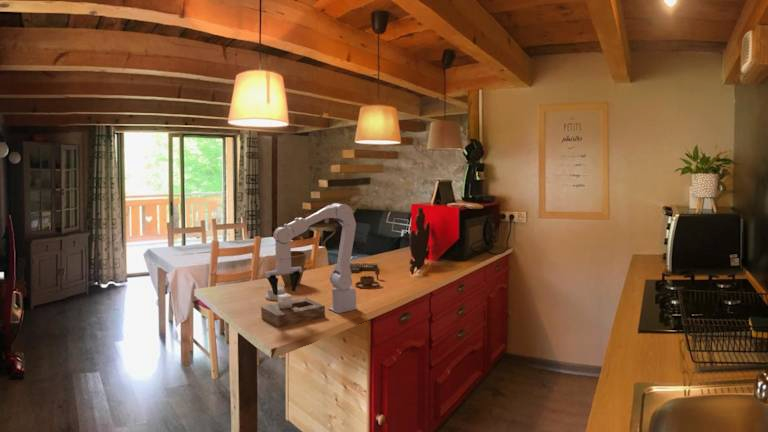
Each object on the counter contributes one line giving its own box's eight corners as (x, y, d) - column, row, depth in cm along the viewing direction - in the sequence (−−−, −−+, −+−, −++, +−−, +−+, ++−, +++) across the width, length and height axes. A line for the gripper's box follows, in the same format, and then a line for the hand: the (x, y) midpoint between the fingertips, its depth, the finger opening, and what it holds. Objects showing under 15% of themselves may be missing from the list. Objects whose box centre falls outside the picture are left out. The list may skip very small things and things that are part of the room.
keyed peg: (288, 313, 190) (287, 293, 190) (294, 316, 186) (293, 295, 186) (276, 316, 187) (275, 295, 186) (282, 319, 183) (281, 298, 183)
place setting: (346, 285, 241) (346, 274, 240) (377, 279, 254) (376, 268, 253) (368, 292, 228) (368, 280, 227) (399, 285, 241) (399, 273, 240)
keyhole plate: (306, 308, 201) (306, 297, 201) (325, 316, 190) (324, 305, 189) (261, 317, 189) (261, 306, 189) (278, 327, 177) (277, 315, 177)
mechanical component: (280, 293, 226) (261, 297, 219) (280, 284, 225) (261, 288, 218) (291, 297, 218) (272, 302, 212) (291, 288, 218) (272, 292, 211)
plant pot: (283, 280, 250) (282, 250, 249) (310, 281, 248) (309, 251, 246) (272, 287, 236) (271, 255, 234) (301, 288, 233) (300, 256, 232)
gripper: (295, 254, 193) (296, 287, 194) (261, 259, 184) (262, 293, 185) (303, 257, 187) (304, 291, 188) (269, 261, 178) (270, 297, 180)
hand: (284, 292), depth 186 cm, fingers open, 7 cm apart
